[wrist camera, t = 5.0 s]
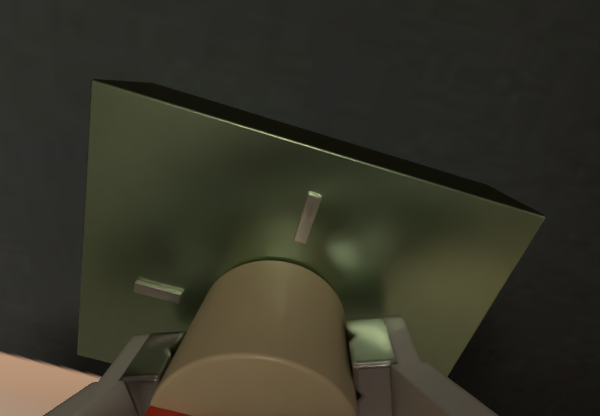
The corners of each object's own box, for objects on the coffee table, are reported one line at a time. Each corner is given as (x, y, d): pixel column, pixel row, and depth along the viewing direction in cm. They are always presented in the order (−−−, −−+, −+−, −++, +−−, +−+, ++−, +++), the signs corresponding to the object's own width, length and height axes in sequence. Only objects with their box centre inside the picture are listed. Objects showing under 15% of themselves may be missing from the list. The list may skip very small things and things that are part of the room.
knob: (366, 282, 9) (400, 405, 5) (320, 389, 11) (323, 540, 7) (217, 241, 9) (151, 342, 5) (192, 356, 10) (127, 496, 7)
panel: (488, 185, 11) (552, 219, 8) (384, 382, 14) (402, 457, 11) (151, 82, 10) (85, 77, 7) (124, 314, 14) (72, 376, 11)
